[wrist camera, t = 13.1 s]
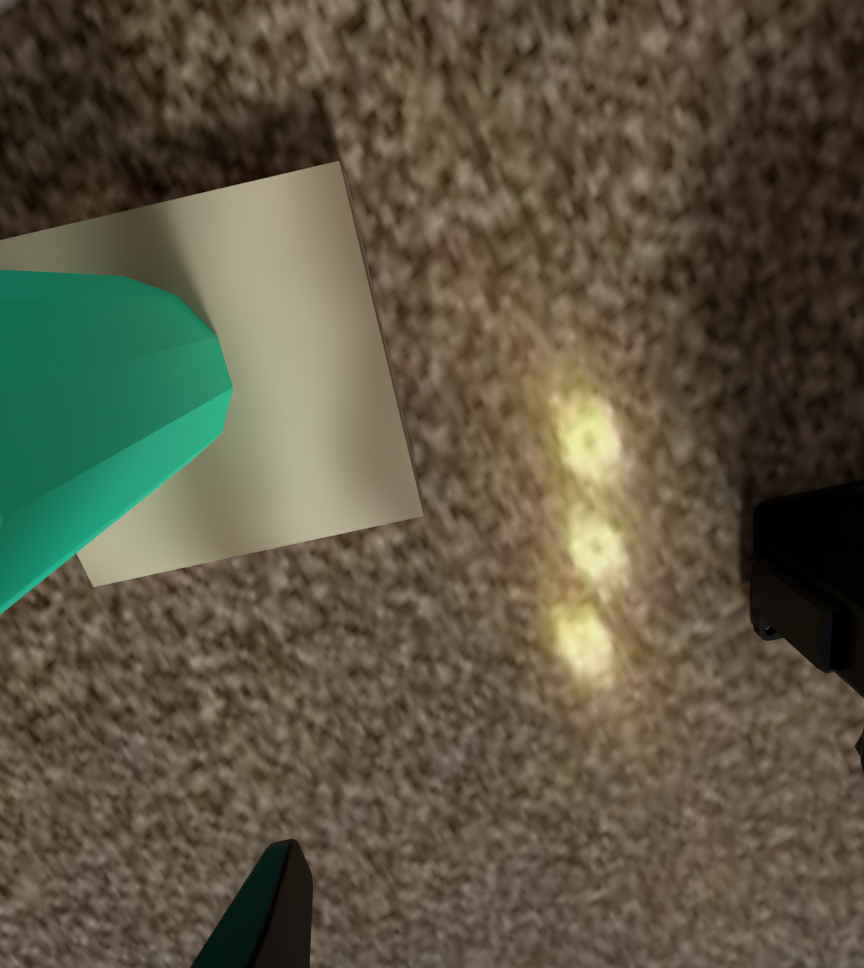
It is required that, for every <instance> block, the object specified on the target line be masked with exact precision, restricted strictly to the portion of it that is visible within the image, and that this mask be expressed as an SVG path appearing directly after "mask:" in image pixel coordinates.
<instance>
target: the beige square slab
mask: <svg viewBox="0 0 864 968" xmlns="http://www.w3.org/2000/svg"><path fill="white" fill-rule="evenodd" d="M0 270H19V271H38V272H57V273H77V274H96V275H115V276H125V277H128V278H131V279H134V280H136V281H139V282H142V283H145V284H147V285H150V286H153V287H156V288H159V289H161V290H164V291H167V292H170V293H172V294H175V295H178V296H179V297H180V298H181V299H182V300H183V301H184V302H185V303H186V304H187V305H188V306H189V308H190V309H191V310H192V311H193V312H194V313H195V314H196V315H197V316H198V317H199V318H200V319H201V320H202V321H203V322H204V323H205V324H206V325H207V326H208V327H209V328H210V329H211V330H212V332H213V333H214V334H215V335H216V336H217V337H218V339H219V343H220V346H221V349H222V352H223V356H224V359H225V362H226V366H227V369H228V372H229V375H230V379H231V382H232V385H233V390H232V394H231V399H230V403H229V407H228V411H227V415H226V419H225V423H224V427H223V431H222V433H221V434H220V435H219V436H218V437H217V438H216V439H215V440H214V441H213V442H211V443H210V444H209V445H208V446H207V447H206V448H205V449H204V450H203V451H202V452H201V453H199V454H198V455H197V456H196V457H195V458H194V459H193V460H192V461H191V462H190V463H188V464H187V465H186V466H185V467H183V468H182V469H181V470H180V471H178V472H177V473H176V474H175V475H173V476H172V477H171V478H170V479H168V480H167V481H166V482H165V483H163V484H162V485H161V486H160V487H158V488H157V489H156V490H155V491H153V492H152V493H151V494H150V495H148V496H147V497H146V498H145V499H143V500H142V501H141V502H140V503H138V504H137V505H136V506H135V507H133V508H132V509H131V510H130V511H128V512H127V513H126V514H125V515H123V516H122V517H121V518H120V519H119V520H117V521H116V522H115V523H114V524H112V525H111V526H110V527H109V528H107V529H106V530H105V531H104V532H102V533H101V534H100V535H99V536H97V537H96V538H95V539H94V540H92V541H91V542H90V543H89V544H87V545H86V546H85V547H84V548H82V549H81V550H80V551H79V552H77V555H78V557H79V559H80V561H81V563H82V565H83V567H84V569H85V571H86V573H87V575H88V577H89V579H90V581H91V583H92V585H93V587H96V586H100V585H105V584H110V583H114V582H119V581H124V580H128V579H133V578H137V577H142V576H147V575H151V574H156V573H161V572H165V571H170V570H175V569H179V568H184V567H189V566H193V565H198V564H202V563H207V562H212V561H216V560H221V559H226V558H230V557H235V556H240V555H244V554H249V553H254V552H258V551H263V550H268V549H272V548H277V547H281V546H286V545H291V544H295V543H300V542H305V541H309V540H314V539H319V538H323V537H328V536H333V535H337V534H342V533H346V532H351V531H356V530H360V529H365V528H370V527H374V526H379V525H384V524H388V523H393V522H398V521H402V520H407V519H411V518H416V517H421V516H424V513H423V502H422V493H421V489H420V485H419V481H418V476H417V472H416V468H415V464H414V459H413V455H412V451H411V447H410V442H409V438H408V434H407V430H406V425H405V421H404V417H403V413H402V408H401V404H400V400H399V396H398V391H397V387H396V383H395V379H394V375H393V370H392V366H391V362H390V358H389V353H388V349H387V345H386V341H385V336H384V332H383V328H382V324H381V319H380V315H379V311H378V307H377V302H376V298H375V294H374V290H373V285H372V281H371V277H370V273H369V269H368V264H367V260H366V256H365V252H364V247H363V243H362V239H361V235H360V230H359V226H358V222H357V218H356V213H355V209H354V205H353V201H352V196H351V192H350V188H349V184H348V179H347V175H346V173H345V171H344V169H343V167H342V165H341V163H340V161H336V162H332V163H328V164H324V165H319V166H315V167H311V168H307V169H302V170H298V171H294V172H289V173H285V174H281V175H277V176H272V177H268V178H264V179H260V180H255V181H251V182H247V183H242V184H238V185H234V186H230V187H225V188H221V189H217V190H212V191H208V192H204V193H200V194H195V195H191V196H187V197H183V198H178V199H174V200H170V201H165V202H161V203H157V204H153V205H148V206H144V207H140V208H136V209H131V210H127V211H123V212H118V213H114V214H110V215H106V216H101V217H97V218H93V219H89V220H84V221H80V222H76V223H71V224H67V225H63V226H59V227H54V228H50V229H46V230H41V231H37V232H33V233H29V234H24V235H20V236H16V237H12V238H7V239H3V240H0Z"/></svg>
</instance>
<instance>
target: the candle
mask: <svg viewBox="0 0 864 968" xmlns="http://www.w3.org/2000/svg"><path fill="white" fill-rule="evenodd" d="M232 390H233V385H232V382H231V379H230V375H229V372H228V369H227V366H226V362H225V359H224V356H223V352H222V349H221V346H220V343H219V339H218V337H217V336H216V335H215V334H214V333H213V332H212V330H211V329H210V328H209V327H208V326H207V325H206V324H205V323H204V322H203V321H202V320H201V319H200V318H199V317H198V316H197V315H196V314H195V313H194V312H193V311H192V310H191V309H190V308H189V306H188V305H187V304H186V303H185V302H184V301H183V300H182V299H181V298H180V297H179V296H178V295H175V294H172V293H170V292H167V291H164V290H161V289H159V288H156V287H153V286H150V285H147V284H145V283H142V282H139V281H136V280H134V279H131V278H128V277H125V276H115V275H96V274H77V273H57V272H38V271H19V270H0V614H1V613H3V612H4V611H5V610H6V609H8V608H9V607H10V606H11V605H13V604H14V603H15V602H16V601H18V600H19V599H20V598H21V597H23V596H24V595H25V594H26V593H28V592H29V591H30V590H31V589H33V588H34V587H35V586H36V585H38V584H39V583H40V582H41V581H42V580H44V579H45V578H46V577H47V576H49V575H50V574H51V573H52V572H54V571H55V570H56V569H57V568H59V567H60V566H61V565H62V564H64V563H65V562H66V561H67V560H69V559H70V558H71V557H72V556H74V555H75V554H76V553H77V552H79V551H80V550H81V549H82V548H84V547H85V546H86V545H87V544H89V543H90V542H91V541H92V540H94V539H95V538H96V537H97V536H99V535H100V534H101V533H102V532H104V531H105V530H106V529H107V528H109V527H110V526H111V525H112V524H114V523H115V522H116V521H117V520H119V519H120V518H121V517H122V516H123V515H125V514H126V513H127V512H128V511H130V510H131V509H132V508H133V507H135V506H136V505H137V504H138V503H140V502H141V501H142V500H143V499H145V498H146V497H147V496H148V495H150V494H151V493H152V492H153V491H155V490H156V489H157V488H158V487H160V486H161V485H162V484H163V483H165V482H166V481H167V480H168V479H170V478H171V477H172V476H173V475H175V474H176V473H177V472H178V471H180V470H181V469H182V468H183V467H185V466H186V465H187V464H188V463H190V462H191V461H192V460H193V459H194V458H195V457H196V456H197V455H198V454H199V453H201V452H202V451H203V450H204V449H205V448H206V447H207V446H208V445H209V444H210V443H211V442H213V441H214V440H215V439H216V438H217V437H218V436H219V435H220V434H221V433H222V431H223V427H224V423H225V419H226V415H227V411H228V407H229V403H230V399H231V394H232Z"/></svg>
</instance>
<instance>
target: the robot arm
mask: <svg viewBox="0 0 864 968" xmlns="http://www.w3.org/2000/svg"><path fill="white" fill-rule="evenodd" d="M772 510H773V512H772V514H771V515H770V516H769V517H767V514H768V513H769V512H770V511H772ZM766 517H767V518H766ZM751 607H752V609H753V610H754V631H755V632H756V633H757V634H758V635H759V636H760V637H761V638H762V639H763V640H766V641H770V640H776V639H780V638H785V639H786V640H787V641H788V642H789V643H790V644H791V645H792V646H793V647H795V648H796V649H797V650H798V651H799V652H800V653H801V654H802V655H803V656H804V657H805V658H807V659H808V660H809V661H810V662H811V663H812V664H813V665H814V666H815V667H816V668H818V669H819V670H821V671H823V672H824V673H831V672H835V673H836V674H837V675H838V676H840V677H841V678H842V679H843V680H844V681H845V682H846V683H847V684H849V685H850V686H851V687H852V688H853V689H854V690H855V691H856V692H858V693H859V694H860V695H861V696H862V697H863V698H864V480H862V481H857V482H852V483H848V484H843V485H838V486H833V487H829V488H824V489H819V490H815V491H810V492H805V493H801V494H796V495H791V496H786V497H782V498H777V499H772V500H768V501H765V502H762V503H761V504H759V505H758V506H757V508H756V509H755V512H754V555H753V557H752V560H751ZM768 627H769V628H768ZM767 628H768V629H767ZM766 629H767V630H766ZM855 748H856V749H857V751H858V753H859V754H860V756H861V766H862V769H863V771H864V729H863V733H862V735H861V737H860V738H859V740H858V742H857V743H856V745H855ZM312 901H313V880H312V874H311V871H310V868H309V866H308V863H307V861H306V859H305V856H304V854H303V852H302V850H301V847H300V845H299V843H298V841H296V840H295V839H288V840H283V841H278V842H274V843H272V844H270V845H269V846H268V847H267V848H266V850H265V851H264V853H263V854H262V856H261V857H260V859H259V860H258V862H257V864H256V865H255V867H254V868H253V870H252V871H251V873H250V875H249V876H248V878H247V879H246V881H245V882H244V884H243V886H242V887H241V889H240V890H239V892H238V893H237V895H236V896H235V898H234V900H233V901H232V903H231V904H230V906H229V907H228V909H227V911H226V912H225V914H224V915H223V917H222V918H221V920H220V922H219V923H218V925H217V926H216V928H215V929H214V931H213V932H212V934H211V936H210V937H209V939H208V940H207V942H206V943H205V945H204V947H203V948H202V950H201V951H200V953H199V954H198V956H197V958H196V959H195V961H194V962H193V964H192V965H191V967H190V968H310V946H311V923H312Z"/></svg>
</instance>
